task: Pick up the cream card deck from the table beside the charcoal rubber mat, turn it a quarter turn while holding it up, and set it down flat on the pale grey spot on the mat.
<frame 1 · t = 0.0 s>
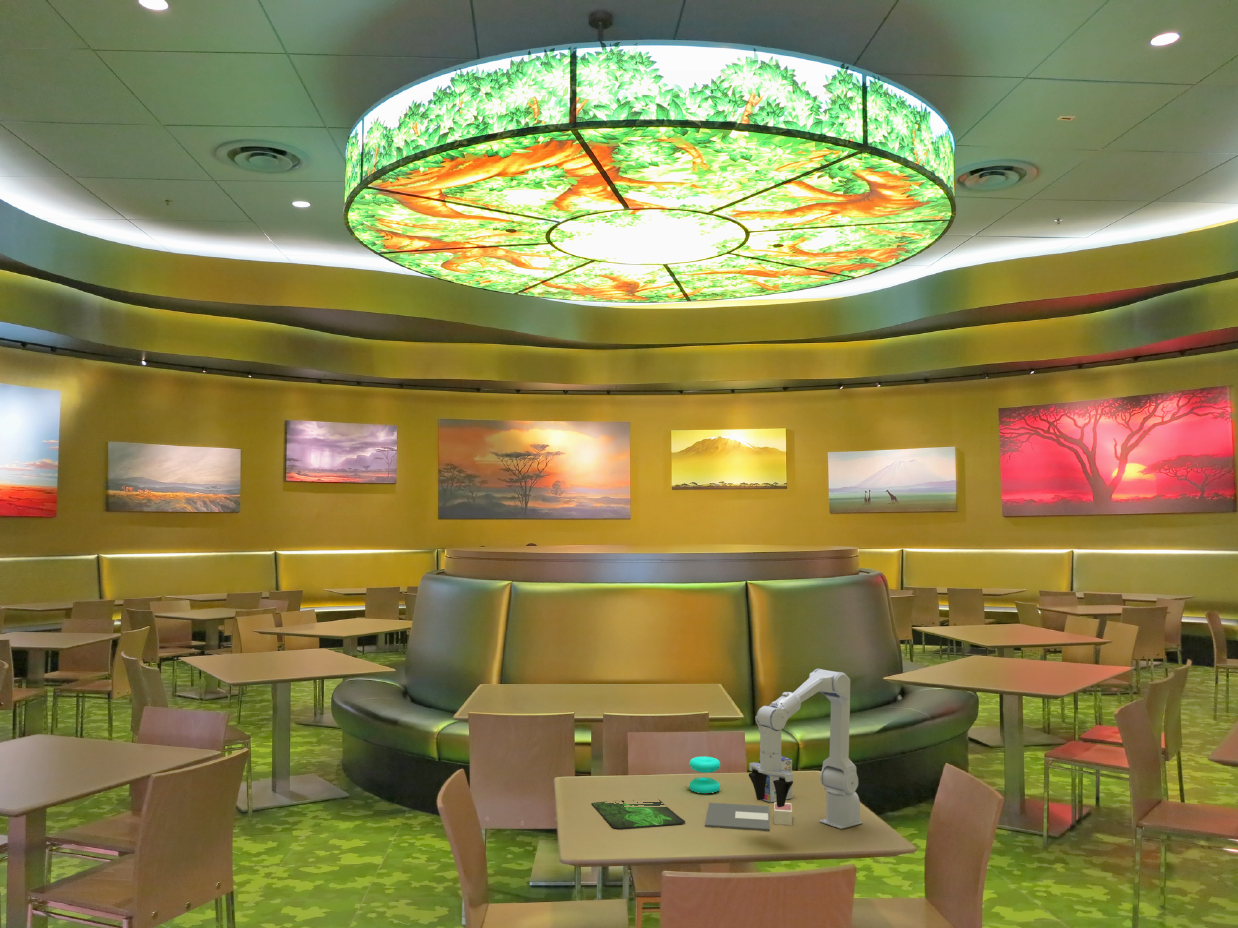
hand: (770, 802, 248), 10 cm above the table, tool pointing down, fingers open, 7 cm apart
mat: (737, 816, 268), on the table
mouse mat: (636, 814, 270), on the table
donuts: (704, 791, 295), on the table
card deck: (782, 820, 266), on the table
ink cartridge box: (775, 799, 288), on the table
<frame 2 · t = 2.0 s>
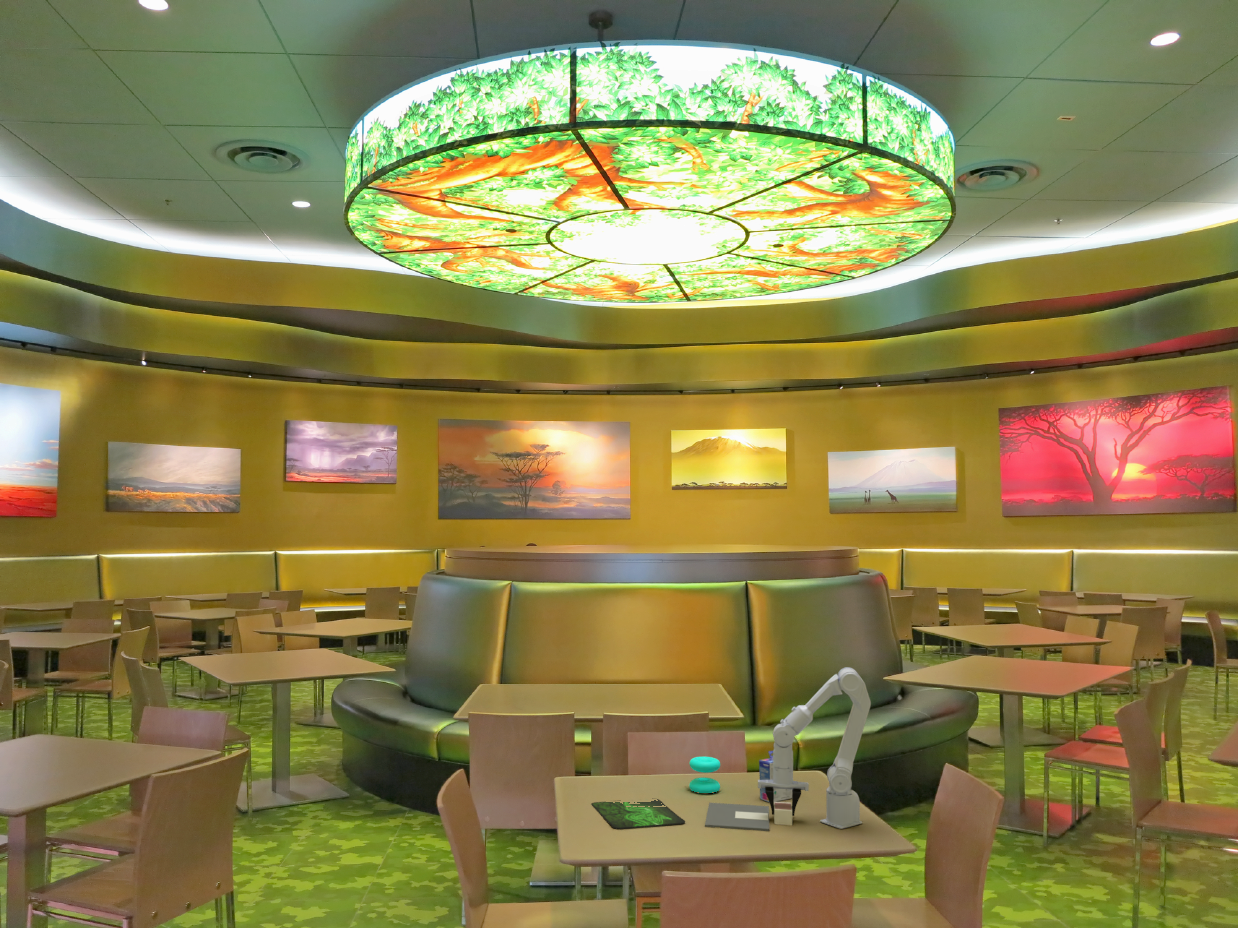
hand: (782, 814, 266), 2 cm above the table, tool pointing down, fingers closed on card deck, 5 cm apart
card deck: (782, 820, 266), on the table, touching gripper
everything else where it was.
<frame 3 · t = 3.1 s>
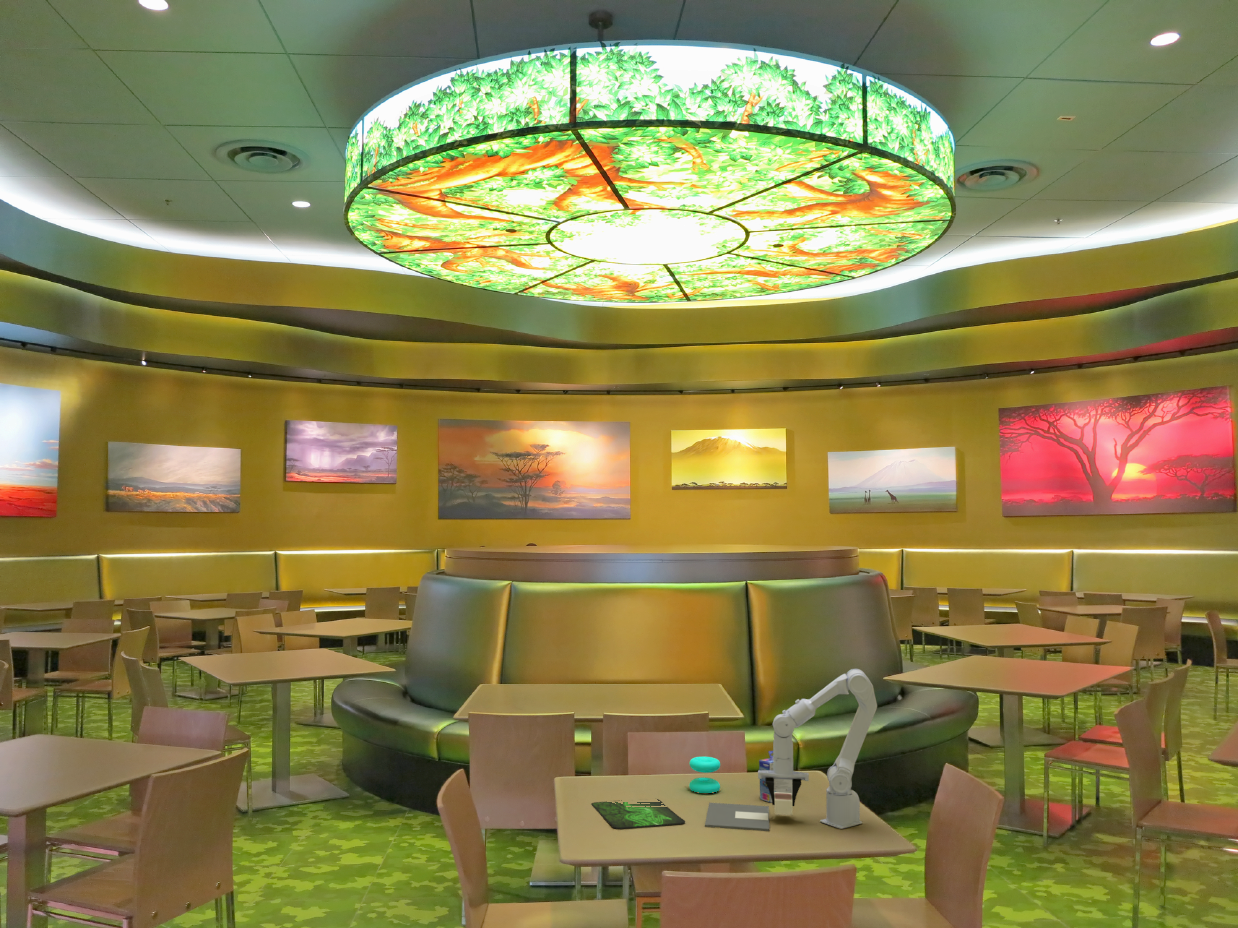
hand: (783, 804, 266), 4 cm above the table, tool pointing down, fingers closed on card deck, 5 cm apart
card deck: (783, 810, 266), point 3 cm above the table, touching gripper
everything else where it was.
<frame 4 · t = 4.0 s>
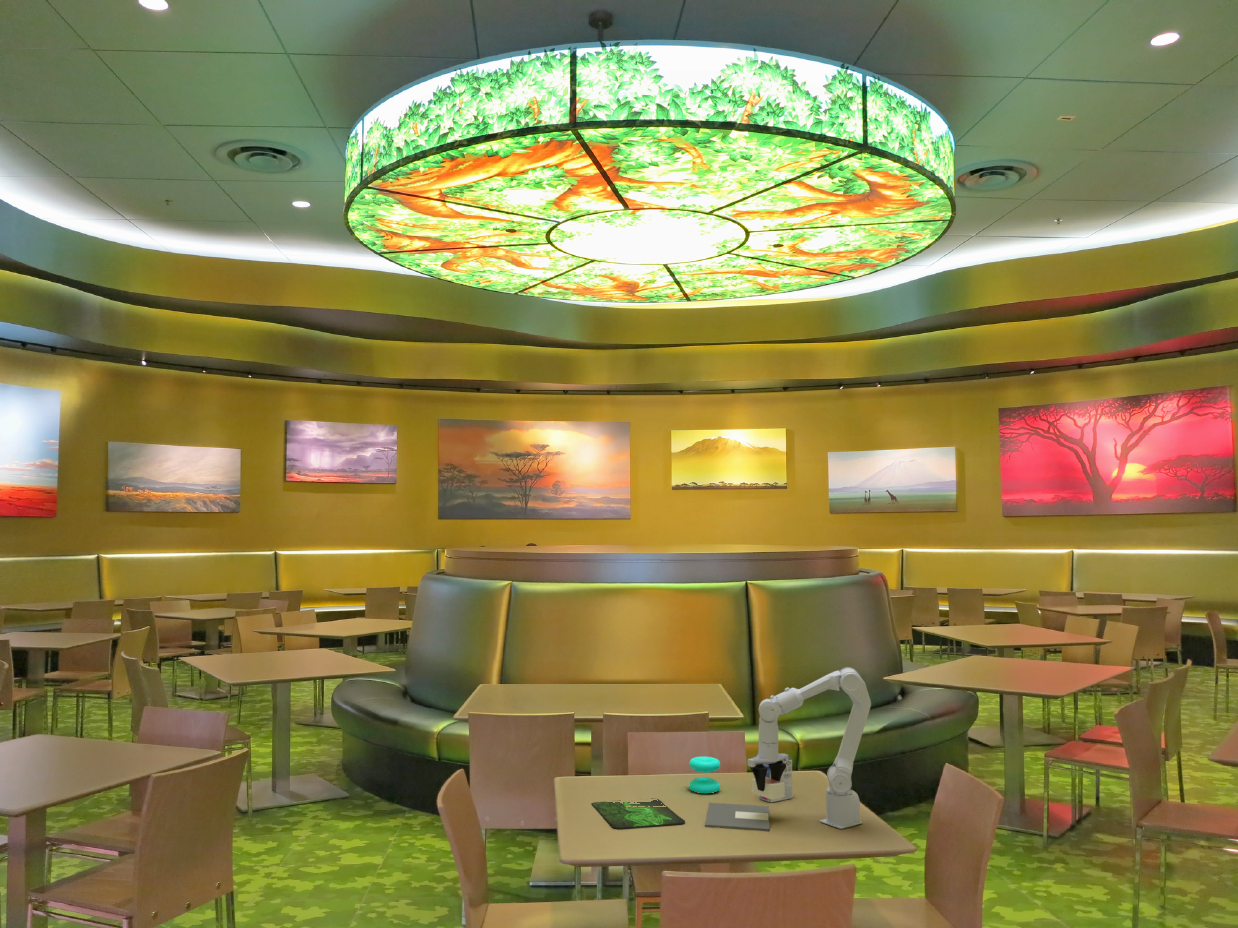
hand: (767, 788, 267), 9 cm above the table, tool pointing down, fingers closed on card deck, 5 cm apart
card deck: (767, 794, 267), point 7 cm above the table, touching gripper
everything else where it was.
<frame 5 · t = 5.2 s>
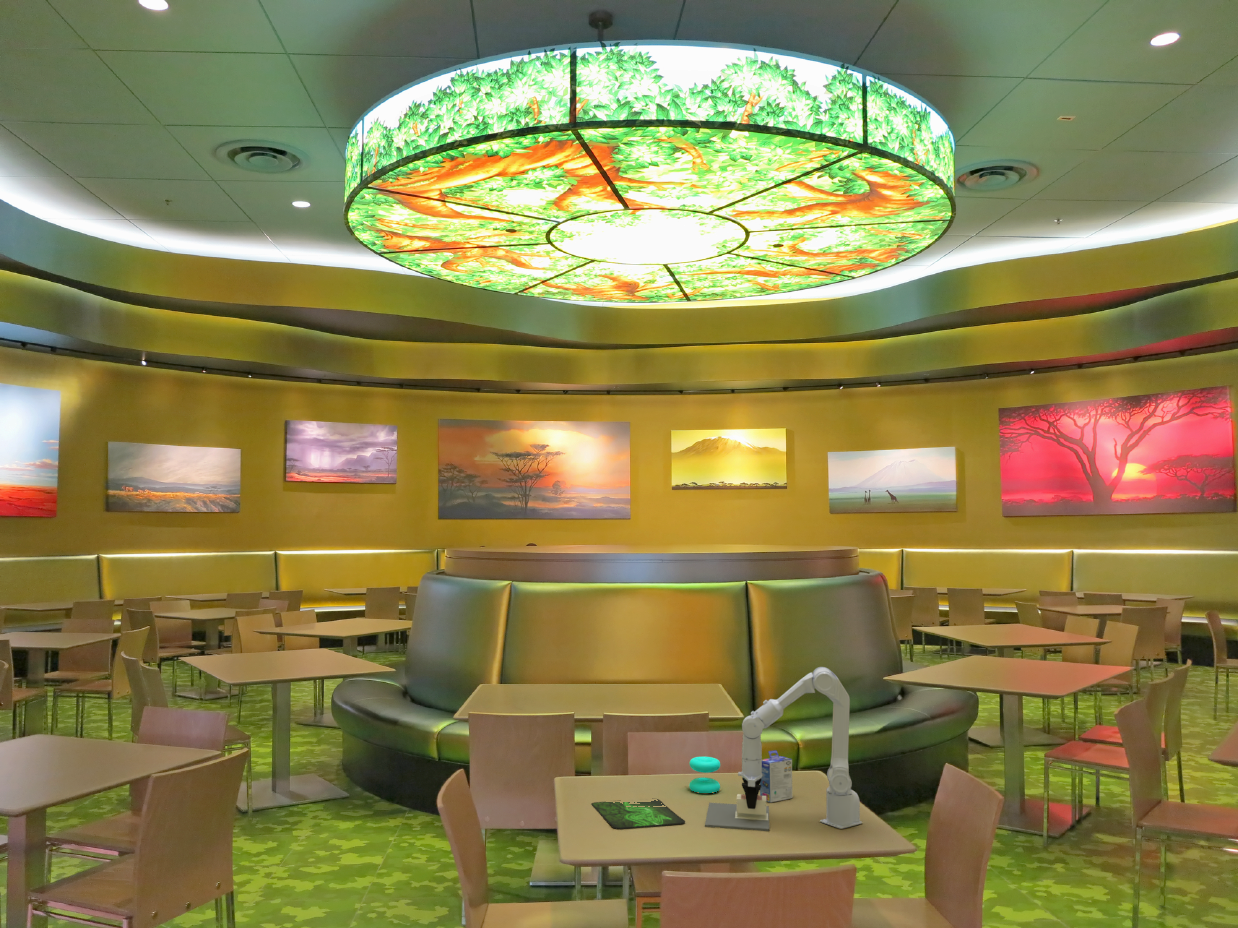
hand: (751, 805, 267), 4 cm above the table, tool pointing down, fingers closed on card deck, 5 cm apart
card deck: (751, 811, 267), point 2 cm above the table, touching gripper
everything else where it was.
when the fingers open (3 cm above the table, at t = 6.1 s): card deck drops 1 cm, resting on mat.
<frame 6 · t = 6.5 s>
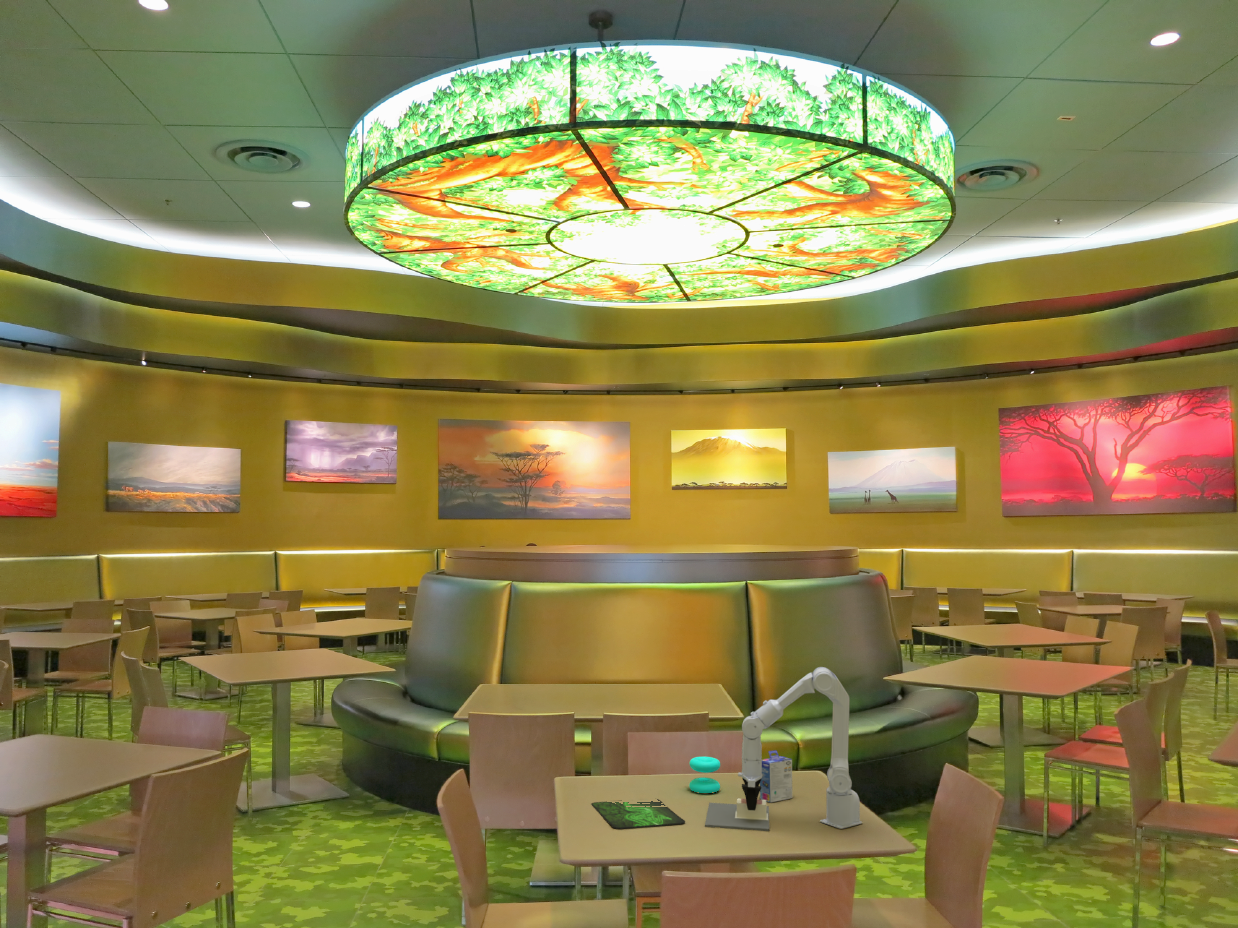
hand: (751, 805, 267), 3 cm above the table, tool pointing down, fingers open, 7 cm apart
card deck: (751, 815, 267), point 1 cm above the table, touching mat
everything else where it was.
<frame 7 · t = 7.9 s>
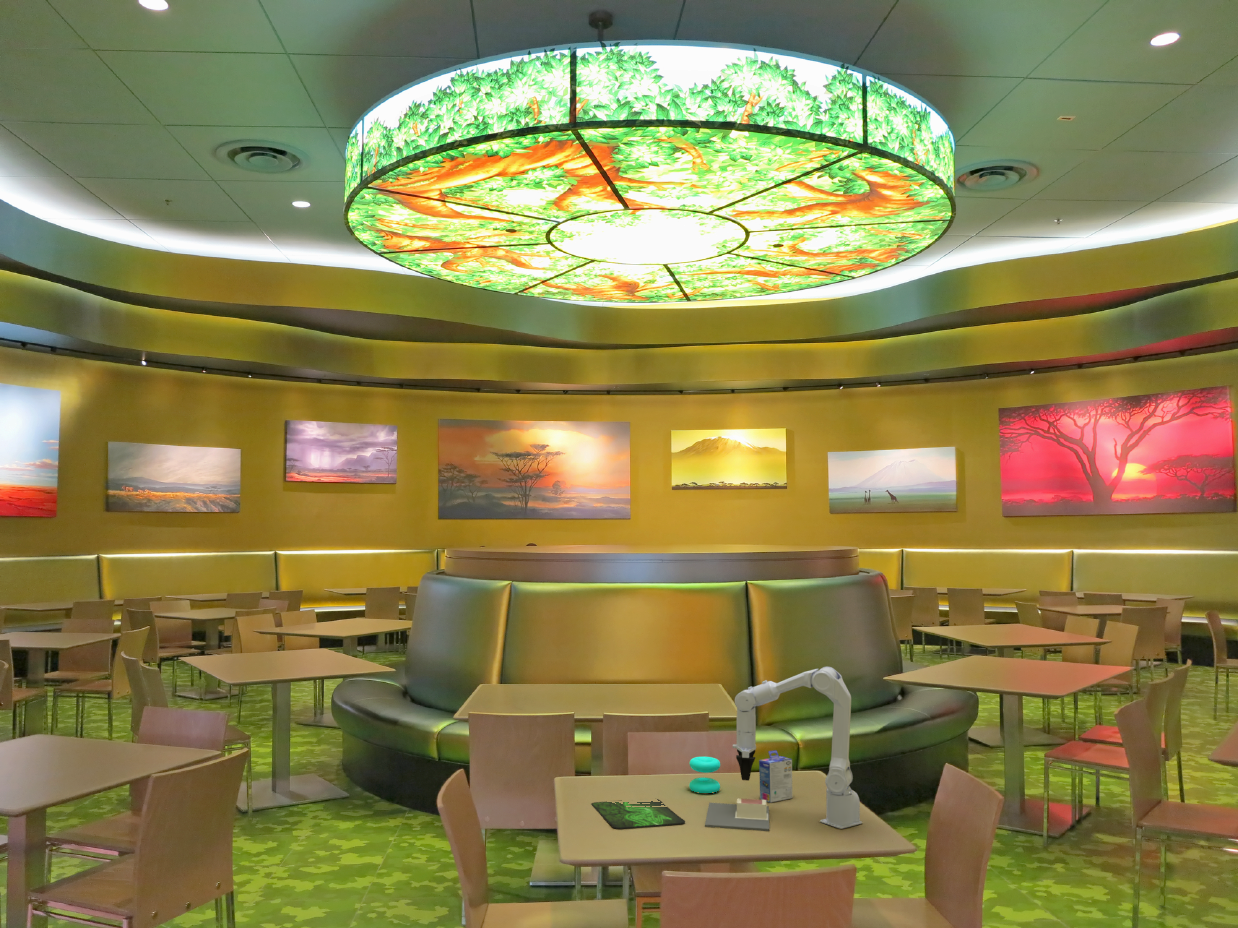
hand: (745, 776, 275), 10 cm above the table, tool pointing down, fingers open, 7 cm apart
nothing on the table moved.
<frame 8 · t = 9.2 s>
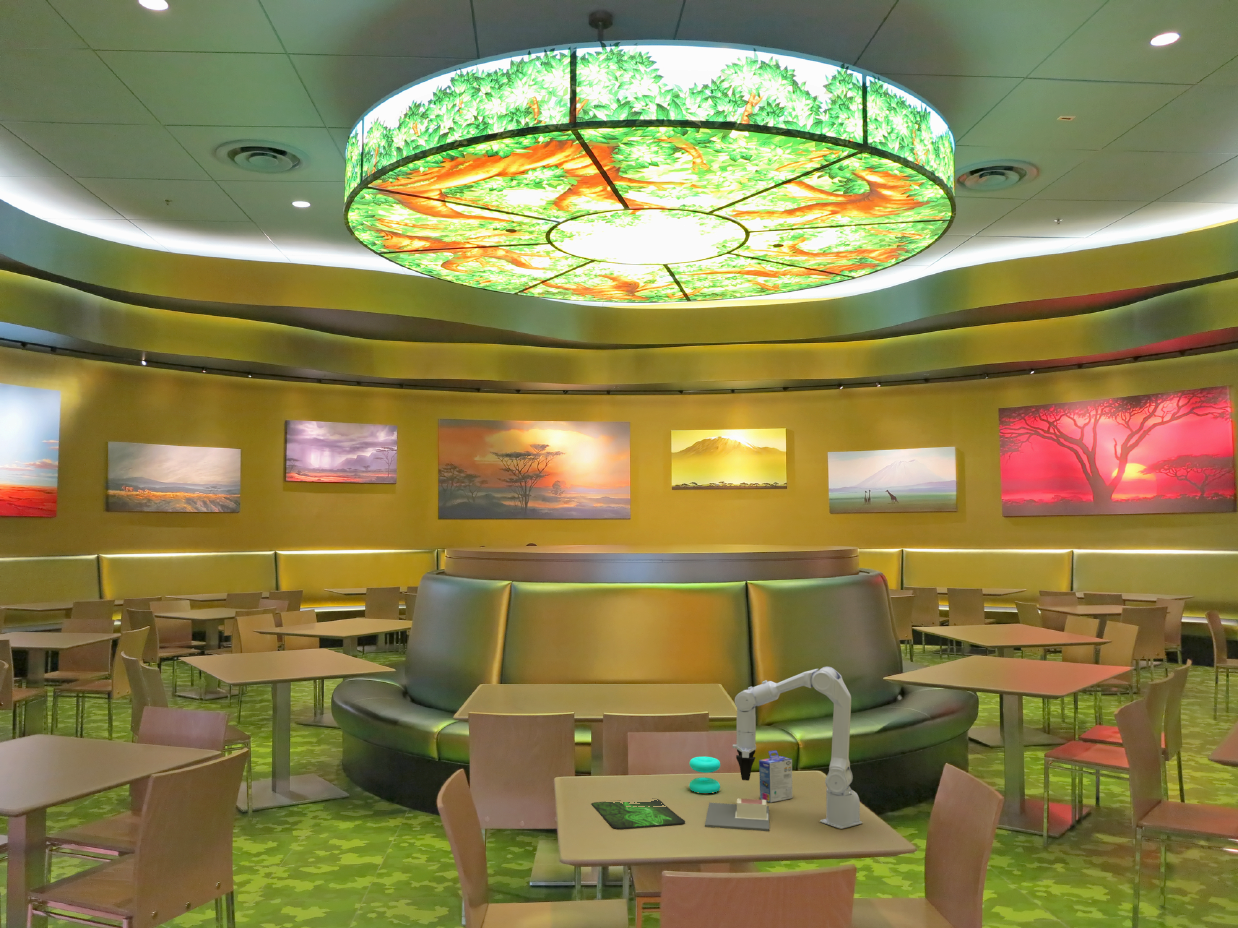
hand: (745, 776, 275), 10 cm above the table, tool pointing down, fingers open, 7 cm apart
nothing on the table moved.
at the end: card deck inside the target area on the mat (0.1 cm from its centre), point 0.7 cm above the mat's base; card deck tilted 0°; the gripper is holding nothing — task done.
